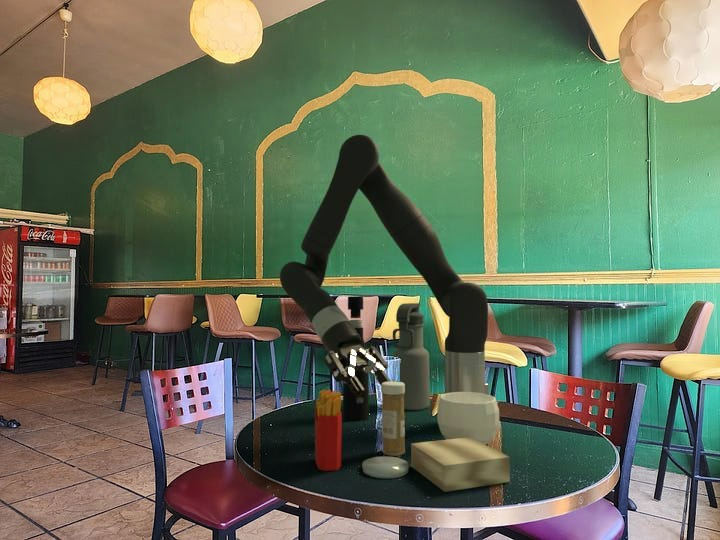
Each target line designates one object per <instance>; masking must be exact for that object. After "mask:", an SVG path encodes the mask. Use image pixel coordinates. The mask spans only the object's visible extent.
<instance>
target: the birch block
mask: <svg viewBox="0 0 720 540" xmlns="http://www.w3.org/2000/svg"><path fill="white" fill-rule="evenodd" d="M410 451H411V452H410V453H411V456H410V457H411V458H410V461H411V467H412V468H413V469H414V470H416V471H417V472H418V473H419V474H420V475H422V476H423V477H424V478H426V479H427V480H428V481H430V482H431V483H432V484H434V485H435V486H437V487H438V488H439V489H440V490H442V491H443V492H445V493H446V492H452V491H453V492H454V491H459V490H466V489H472V488H478V487H485V486H492V485H497V484H498V485H499V484H503V483H510V482H511V479H510V478H511V476H510V475H511V471H510V470H511V469H510V468H511V467H510V462H511V461H510V456H508V455H507V454H505V453H503V452H501V451H500V450H499V451H498V450H497V449H495V448H492V447H491V446H489V445H488V444H483V443H481V442H479V441H477V440H475V439H473V438H471V437H464V438H456V439H447V440H446V439H438V440H430V441H422V442H413V443H411V445H410Z"/></svg>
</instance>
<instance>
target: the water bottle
mask: <svg viewBox="0 0 720 540" xmlns="http://www.w3.org/2000/svg"><path fill="white" fill-rule="evenodd" d="M420 307H421V303H419V302H417V303H416V302H413V303H411V302H410V303H406V302H405V303H400V304H399V306H398V308H397V311H396V316H395V319H396V320H395V321H396V323H398V325H397V326H398V328H394V329H393V330H392V345H393V347H394V348H396V349H395V350H394V352H393V357H398V358H400V359H401V363H400V382H403V383H404V384H405V393H404V411H422V410H425V409H427V408H429V407H430V404H431V403H430V402H431V401H430V399H431V397H430V395H431V394H430V393H431V392H430V390H431V389H430V353H429V351H428V350H427V349H425V348H424V326H425V324H424V323H425V322H424V321H425V320H424V318H425V314H423V313H422V312H421V313H420V309H419V308H420ZM397 332H398V338H399V339H398V342H399V343H398V344H397V341H396V340H397V338H396V337H397ZM393 357H392V358H393Z"/></svg>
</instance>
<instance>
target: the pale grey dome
mask: <svg viewBox="0 0 720 540" xmlns="http://www.w3.org/2000/svg"><path fill="white" fill-rule="evenodd" d="M361 469H363V470H362V472H363V474H365V475H366V474H367V475H366V476H368V475H369V477H373V478H376V479H396V478H401V477H403V476H405V475H407V474H409V473H408V472H409V463H408V461H406V460H404V459H402V458H399V457H397V456H374V457H371V458H367V459H365V460H363V461H362V468H361Z"/></svg>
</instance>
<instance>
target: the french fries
mask: <svg viewBox="0 0 720 540" xmlns="http://www.w3.org/2000/svg"><path fill="white" fill-rule="evenodd" d="M318 393H319V397H318V398H317V399H316V402H315V405H316V406H315V407H314V434H315V435H314V439H315V440H314V441H315V444H314V445H315V446H314V447H315V448H314V449H315V450H314V453H315V454H314V455H315V457H314V458H315V464H316V466H317V468H318V470H321V471H324V472H328V471H329V472H330V471H339V469H341V468H340V467H342V434H343V433H342V431H343V430H342V425H343V421H342V420H343V412H341V409H342V408H341V407H342V392H340V391H335V390H333V391H331V389H329V390H328V389H321V390H320V391H318Z"/></svg>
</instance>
